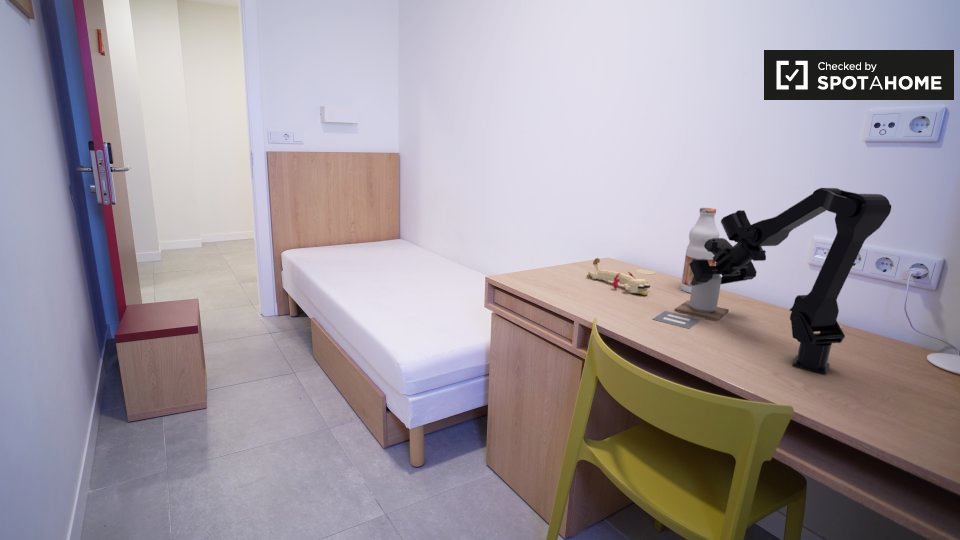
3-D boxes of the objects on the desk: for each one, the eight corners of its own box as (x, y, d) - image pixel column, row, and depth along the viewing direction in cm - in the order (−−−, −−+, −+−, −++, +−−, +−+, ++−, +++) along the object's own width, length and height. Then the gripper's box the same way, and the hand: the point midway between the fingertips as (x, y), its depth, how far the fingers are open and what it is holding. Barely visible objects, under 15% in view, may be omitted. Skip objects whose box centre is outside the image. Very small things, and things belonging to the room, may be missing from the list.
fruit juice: (674, 287, 170) (686, 206, 163) (698, 286, 172) (711, 206, 165) (692, 295, 161) (705, 210, 154) (716, 294, 164) (730, 210, 157)
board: (717, 321, 138) (717, 319, 138) (674, 311, 145) (674, 309, 145) (728, 311, 147) (728, 309, 147) (687, 302, 154) (687, 300, 154)
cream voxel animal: (582, 282, 177) (636, 297, 156) (583, 258, 175) (638, 269, 154) (602, 279, 182) (658, 293, 161) (603, 256, 180) (659, 266, 159)
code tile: (689, 328, 132) (689, 328, 132) (652, 319, 138) (652, 318, 138) (700, 319, 139) (700, 319, 139) (665, 311, 145) (665, 310, 145)
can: (714, 315, 141) (721, 275, 138) (686, 310, 145) (692, 270, 142) (717, 308, 147) (724, 269, 144) (690, 303, 151) (696, 265, 148)
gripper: (756, 230, 137) (721, 259, 151) (698, 230, 133) (668, 261, 146) (773, 264, 132) (736, 291, 145) (714, 266, 127) (681, 294, 140)
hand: (705, 283), depth 144 cm, fingers open, 9 cm apart
